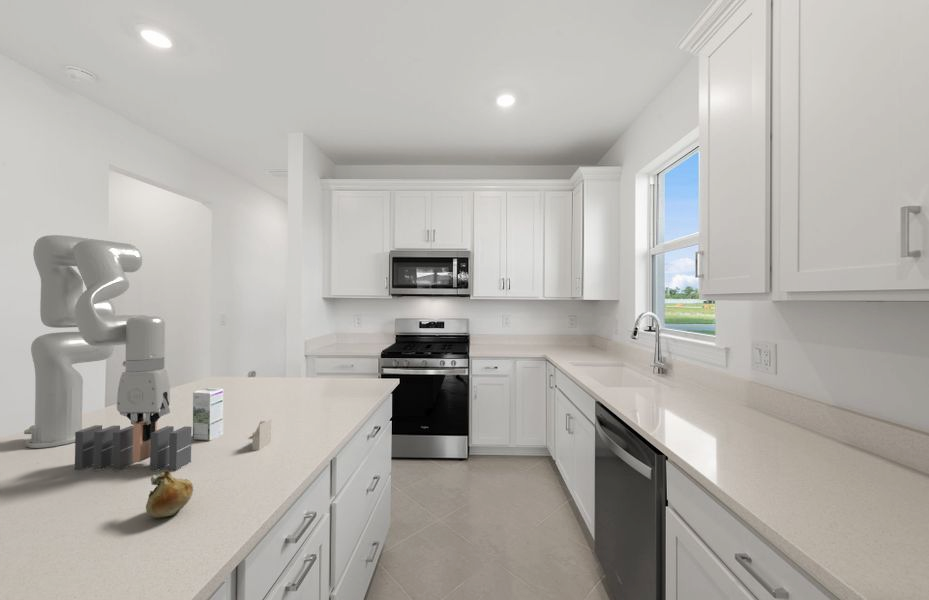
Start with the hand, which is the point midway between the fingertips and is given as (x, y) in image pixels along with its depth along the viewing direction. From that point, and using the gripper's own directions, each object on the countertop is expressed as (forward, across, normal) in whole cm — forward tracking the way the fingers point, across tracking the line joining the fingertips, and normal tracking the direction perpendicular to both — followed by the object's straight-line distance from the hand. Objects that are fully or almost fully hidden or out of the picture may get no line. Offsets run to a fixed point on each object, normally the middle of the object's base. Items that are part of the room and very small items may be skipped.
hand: (144, 438), depth 95 cm
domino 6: (+7, +9, 0) cm, 11 cm away
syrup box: (+7, +2, +20) cm, 21 cm away
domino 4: (+5, 0, 0) cm, 5 cm away
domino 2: (+7, -10, 0) cm, 12 cm away
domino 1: (+7, -14, 0) cm, 16 cm away
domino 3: (+7, -5, 0) cm, 8 cm away
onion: (+7, +22, -21) cm, 32 cm away
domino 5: (+7, +4, 0) cm, 8 cm away
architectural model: (+8, +22, +14) cm, 27 cm away
